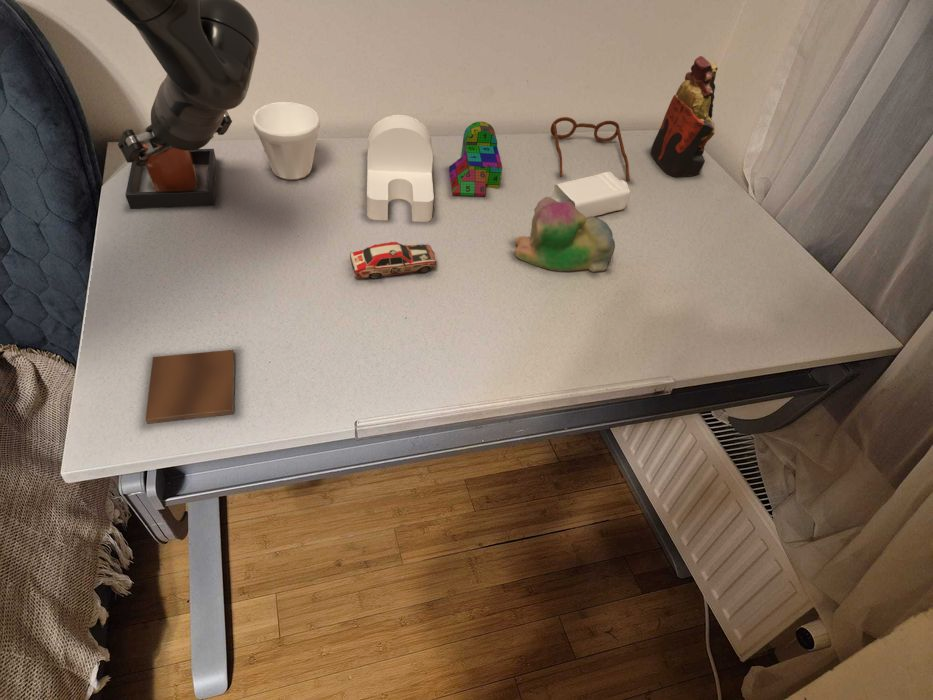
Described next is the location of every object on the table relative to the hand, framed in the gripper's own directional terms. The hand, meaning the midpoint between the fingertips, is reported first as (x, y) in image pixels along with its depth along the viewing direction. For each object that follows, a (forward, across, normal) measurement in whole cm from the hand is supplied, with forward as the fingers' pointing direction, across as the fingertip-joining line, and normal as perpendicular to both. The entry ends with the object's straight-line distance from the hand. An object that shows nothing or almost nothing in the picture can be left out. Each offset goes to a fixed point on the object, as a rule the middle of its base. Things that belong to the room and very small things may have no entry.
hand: (168, 148), depth 89 cm
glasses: (-17, -63, +27) cm, 70 cm away
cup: (+1, -16, +8) cm, 19 cm away
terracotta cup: (+5, 0, +4) cm, 7 cm away
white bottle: (-24, -52, +34) cm, 66 cm away
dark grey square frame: (+5, 0, +4) cm, 7 cm away
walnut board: (-21, +16, +30) cm, 40 cm away
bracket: (-8, -29, +18) cm, 35 cm away
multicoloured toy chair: (-11, -41, +21) cm, 47 cm away
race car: (-19, -15, +28) cm, 37 cm away
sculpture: (-28, -38, +38) cm, 60 cm away
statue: (-23, -77, +33) cm, 87 cm away
